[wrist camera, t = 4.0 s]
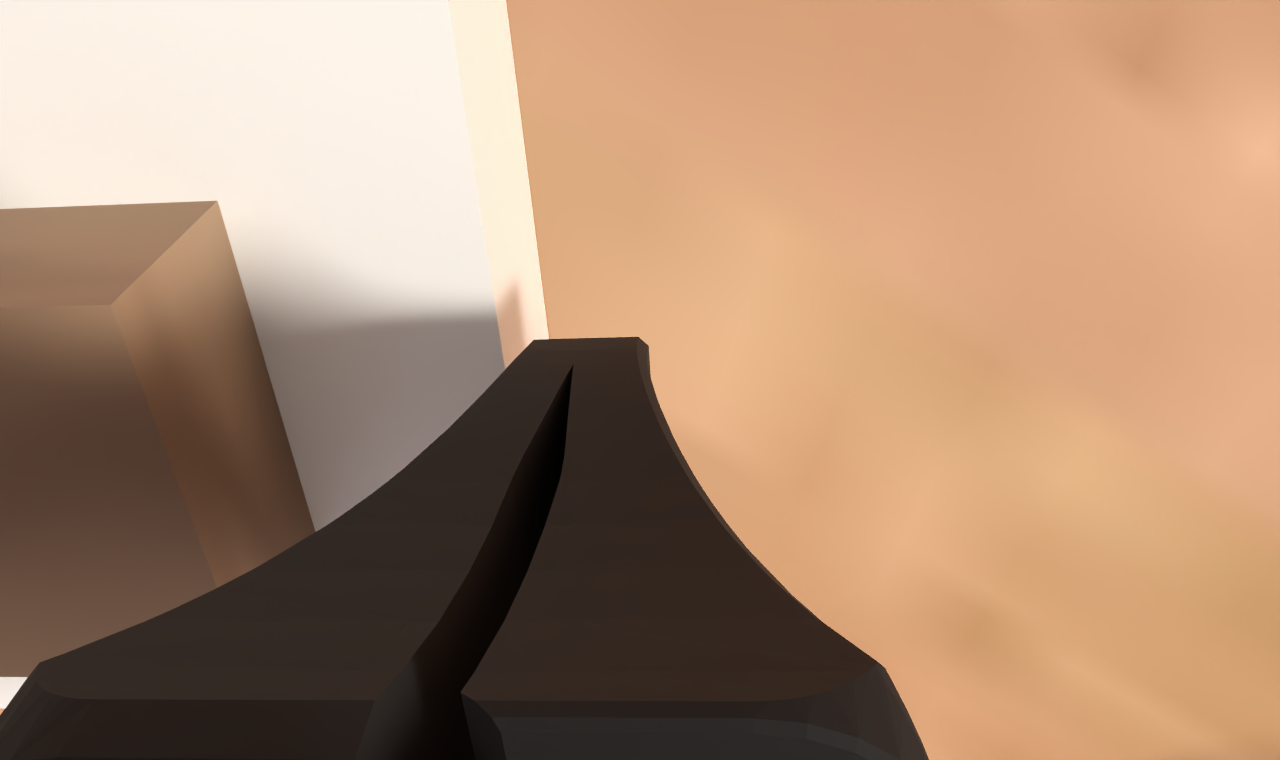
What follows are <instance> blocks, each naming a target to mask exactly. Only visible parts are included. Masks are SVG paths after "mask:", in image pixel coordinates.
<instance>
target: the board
mask: <svg viewBox="0 0 1280 760" xmlns="http://www.w3.org/2000/svg"><path fill="white" fill-rule="evenodd" d="M196 201H218V204H219V207H220V211H221V214H222V217H223V221H224V224H225V228H226V231H227V234H228V238H229V241H230V245H231V248H232V251H233V255H234V258H235V261H236V265H237V268H238V272H239V275H240V278H241V282H242V285H243V288H244V292H245V295H246V299H247V302H248V305H249V309H250V312H251V316H252V319H253V322H254V326H255V329H256V332H257V336H258V339H259V343H260V346H261V349H262V353H263V356H264V359H265V363H266V366H267V370H268V373H269V376H270V380H271V383H272V387H273V390H274V393H275V397H276V400H277V403H278V407H279V410H280V414H281V417H282V420H283V424H284V427H285V430H286V434H287V437H288V441H289V444H290V447H291V451H292V454H293V458H294V461H295V464H296V468H297V471H298V474H299V478H300V481H301V485H302V488H303V491H304V495H305V498H306V501H307V505H308V508H309V512H310V515H311V518H312V522H313V525H314V529H315V532H316V531H318V530H320V529H321V528H323V527H325V526H326V525H328V524H329V523H331V522H332V521H334V520H335V519H337V518H338V517H340V516H341V515H343V514H344V513H345V512H347V511H348V510H350V509H351V508H352V507H354V506H355V505H357V504H358V503H359V502H361V501H362V500H364V499H365V498H366V497H368V496H369V495H371V494H372V493H373V492H375V491H376V490H377V489H378V488H380V487H381V486H382V485H384V484H385V483H386V482H387V481H389V480H390V479H391V478H392V477H394V476H395V475H396V474H397V473H399V472H400V471H401V470H402V469H404V468H405V467H406V466H407V465H408V464H409V463H410V462H411V461H412V460H414V459H415V458H416V457H417V456H418V455H419V454H420V453H421V452H423V451H424V450H425V449H426V448H427V447H428V446H429V445H430V444H431V443H433V442H434V441H435V440H436V439H437V438H438V437H439V436H440V435H442V434H443V433H444V432H445V431H446V430H447V429H448V428H449V427H450V426H451V425H452V424H453V423H454V422H455V421H456V420H457V419H458V418H459V417H460V416H461V415H462V414H463V413H464V412H465V411H466V410H467V409H468V408H469V407H470V406H471V405H472V404H473V403H474V402H475V401H476V400H477V399H478V398H479V397H480V396H481V395H482V394H483V393H484V392H485V390H486V389H487V388H488V387H489V386H490V385H491V384H492V383H493V382H494V381H495V380H496V379H497V378H498V377H499V376H500V374H501V373H502V372H503V371H504V370H505V369H506V368H507V367H508V366H509V365H510V364H511V363H512V362H513V360H514V359H515V358H516V357H517V356H518V355H519V354H520V353H521V352H522V351H523V350H524V349H525V348H526V347H527V346H528V345H529V344H530V343H531V342H532V341H533V340H539V339H549V337H548V329H547V321H546V313H545V305H544V297H543V289H542V281H541V273H540V265H539V258H538V250H537V242H536V234H535V226H534V218H533V210H532V202H531V194H530V186H529V179H528V171H527V163H526V155H525V147H524V139H523V131H522V123H521V115H520V107H519V100H518V92H517V84H516V76H515V68H514V60H513V52H512V44H511V36H510V28H509V20H508V13H507V5H506V0H0V209H14V208H40V207H66V206H92V205H118V204H144V203H170V202H196ZM27 678H28V677H0V708H6V707H7V706H8V704H9V703H10V701H11V700H12V699H13V697H14V696H15V694H16V693H17V692H18V690H19V689H20V687H21V686H22V685H23V683H24V682H25V680H26V679H27Z"/></svg>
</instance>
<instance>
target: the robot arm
mask: <svg viewBox="0 0 1280 760" xmlns="http://www.w3.org/2000/svg"><path fill="white" fill-rule="evenodd" d="M0 760H929V759H928V756H927V754H926V751H925V749H924V746H923V744H922V741H921V739H920V737H919V735H918V733H917V730H916V728H915V726H914V724H913V722H912V720H911V718H910V715H909V713H908V711H907V709H906V707H905V705H904V703H903V701H902V699H901V698H900V696H899V694H898V692H897V690H896V688H895V686H894V684H893V682H892V680H891V678H890V676H889V675H888V673H887V671H886V669H885V668H884V667H883V666H882V665H881V664H880V663H878V662H877V661H876V660H874V659H873V658H872V657H870V656H869V655H867V654H866V653H865V652H863V651H862V650H860V649H859V648H858V647H856V646H855V645H853V644H852V643H851V642H849V641H848V640H846V639H845V638H844V637H842V636H841V635H839V634H838V633H837V632H835V631H834V630H833V629H831V628H830V627H828V626H827V625H826V624H824V623H823V622H822V621H821V620H820V619H818V618H817V617H816V616H815V615H814V614H813V613H812V612H810V611H809V610H808V609H807V608H806V607H805V606H804V605H803V604H801V603H800V602H799V601H798V600H797V599H796V598H795V597H793V596H792V595H791V594H790V593H789V592H788V591H787V589H786V588H785V587H784V586H783V585H782V584H781V583H780V582H779V581H778V580H777V579H776V578H775V577H774V576H773V575H772V574H771V573H770V572H769V571H768V570H767V569H766V568H765V567H764V566H763V565H762V564H761V563H760V561H759V560H758V559H757V558H756V557H755V556H754V555H753V554H752V553H751V552H750V551H749V550H748V549H747V548H746V546H745V545H744V544H743V543H742V541H741V540H740V539H739V538H738V537H737V535H736V534H735V533H734V532H733V530H732V529H731V528H730V527H729V525H728V524H727V523H726V522H725V520H724V519H723V517H722V516H721V515H720V513H719V512H718V510H717V509H716V508H715V506H714V505H713V504H712V502H711V501H710V499H709V498H708V496H707V495H706V493H705V492H704V490H703V489H702V487H701V486H700V484H699V482H698V481H697V479H696V477H695V476H694V474H693V472H692V471H691V469H690V467H689V465H688V464H687V462H686V460H685V458H684V457H683V455H682V453H681V451H680V449H679V447H678V445H677V443H676V441H675V439H674V437H673V435H672V433H671V431H670V428H669V426H668V424H667V422H666V419H665V417H664V415H663V412H662V410H661V408H660V405H659V403H658V400H657V397H656V394H655V391H654V388H653V384H652V381H651V377H650V362H649V347H648V345H647V344H646V343H645V342H643V341H642V340H641V339H640V338H639V337H618V338H578V339H539V340H533V341H532V342H531V343H530V344H529V345H528V346H527V347H526V348H525V349H524V350H523V351H522V352H521V353H520V354H519V355H518V356H517V357H516V358H515V359H514V360H513V362H512V363H511V364H510V365H509V366H508V367H507V368H506V369H505V370H504V371H503V372H502V373H501V374H500V376H499V377H498V378H497V379H496V380H495V381H494V382H493V383H492V384H491V385H490V386H489V387H488V388H487V389H486V390H485V392H484V393H483V394H482V395H481V396H480V397H479V398H478V399H477V400H476V401H475V402H474V403H473V404H472V405H471V406H470V407H469V408H468V409H467V410H466V411H465V412H464V413H463V414H462V415H461V416H460V417H459V418H458V419H457V420H456V421H455V422H454V423H453V424H452V425H451V426H450V427H449V428H448V429H447V430H446V431H445V432H444V433H443V434H442V435H440V436H439V437H438V438H437V439H436V440H435V441H434V442H433V443H431V444H430V445H429V446H428V447H427V448H426V449H425V450H424V451H423V452H421V453H420V454H419V455H418V456H417V457H416V458H415V459H414V460H412V461H411V462H410V463H409V464H408V465H407V466H406V467H405V468H404V469H402V470H401V471H400V472H399V473H397V474H396V475H395V476H394V477H392V478H391V479H390V480H389V481H387V482H386V483H385V484H384V485H382V486H381V487H380V488H378V489H377V490H376V491H375V492H373V493H372V494H371V495H369V496H368V497H366V498H365V499H364V500H362V501H361V502H359V503H358V504H357V505H355V506H354V507H352V508H351V509H350V510H348V511H347V512H345V513H344V514H343V515H341V516H340V517H338V518H337V519H335V520H334V521H332V522H331V523H329V524H328V525H326V526H325V527H323V528H321V529H320V530H318V531H316V532H315V533H313V534H311V535H310V536H308V537H306V538H305V539H303V540H301V541H300V542H298V543H296V544H295V545H293V546H291V547H290V548H288V549H286V550H285V551H283V552H281V553H280V554H278V555H277V556H275V557H273V558H272V559H270V560H268V561H267V562H265V563H263V564H262V565H260V566H258V567H256V568H254V569H252V570H251V571H249V572H247V573H245V574H243V575H241V576H239V577H237V578H235V579H233V580H231V581H229V582H228V583H226V584H224V585H222V586H220V587H218V588H216V589H214V590H212V591H210V592H208V593H206V594H203V595H201V596H199V597H197V598H195V599H193V600H191V601H189V602H187V603H185V604H182V605H180V606H178V607H176V608H174V609H172V610H170V611H167V612H165V613H163V614H161V615H158V616H156V617H154V618H152V619H149V620H147V621H145V622H142V623H140V624H137V625H135V626H132V627H130V628H127V629H125V630H122V631H120V632H117V633H114V634H112V635H109V636H107V637H104V638H102V639H99V640H97V641H94V642H92V643H89V644H87V645H84V646H82V647H79V648H77V649H74V650H72V651H69V652H67V653H64V654H61V655H59V656H56V657H53V658H50V659H48V660H45V661H42V662H39V664H38V665H37V666H36V667H35V669H34V670H33V671H32V673H31V674H30V675H29V676H28V678H27V679H26V680H25V682H24V683H23V685H22V686H21V687H20V689H19V690H18V692H17V693H16V694H15V696H14V697H13V699H12V700H11V701H10V703H9V704H8V706H7V707H6V708H5V710H4V711H3V712H2V714H1V715H0Z"/></svg>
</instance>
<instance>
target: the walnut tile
mask: <svg viewBox="0 0 1280 760" xmlns="http://www.w3.org/2000/svg"><path fill="white" fill-rule="evenodd" d="M313 533H315V529H314V525H313V522H312V518H311V515H310V512H309V508H308V505H307V501H306V498H305V495H304V491H303V488H302V485H301V481H300V478H299V474H298V471H297V468H296V464H295V461H294V458H293V454H292V451H291V447H290V444H289V441H288V437H287V434H286V430H285V427H284V424H283V420H282V417H281V414H280V410H279V407H278V403H277V400H276V397H275V393H274V390H273V387H272V383H271V380H270V376H269V373H268V370H267V366H266V363H265V359H264V356H263V353H262V349H261V346H260V343H259V339H258V336H257V332H256V329H255V326H254V322H253V319H252V316H251V312H250V309H249V305H248V302H247V299H246V295H245V292H244V288H243V285H242V282H241V278H240V275H239V272H238V268H237V265H236V261H235V258H234V255H233V251H232V248H231V245H230V241H229V238H228V234H227V231H226V228H225V224H224V221H223V217H222V214H221V211H220V207H219V204H218V201H196V202H170V203H144V204H118V205H92V206H66V207H40V208H14V209H0V677H28V676H29V675H30V674H31V673H32V671H33V670H34V669H35V667H36V666H37V665H38V664H39V662H42V661H45V660H48V659H50V658H53V657H56V656H59V655H61V654H64V653H67V652H69V651H72V650H74V649H77V648H79V647H82V646H84V645H87V644H89V643H92V642H94V641H97V640H99V639H102V638H104V637H107V636H109V635H112V634H114V633H117V632H120V631H122V630H125V629H127V628H130V627H132V626H135V625H137V624H140V623H142V622H145V621H147V620H149V619H152V618H154V617H156V616H158V615H161V614H163V613H165V612H167V611H170V610H172V609H174V608H176V607H178V606H180V605H182V604H185V603H187V602H189V601H191V600H193V599H195V598H197V597H199V596H201V595H203V594H206V593H208V592H210V591H212V590H214V589H216V588H218V587H220V586H222V585H224V584H226V583H228V582H229V581H231V580H233V579H235V578H237V577H239V576H241V575H243V574H245V573H247V572H249V571H251V570H252V569H254V568H256V567H258V566H260V565H262V564H263V563H265V562H267V561H268V560H270V559H272V558H273V557H275V556H277V555H278V554H280V553H281V552H283V551H285V550H286V549H288V548H290V547H291V546H293V545H295V544H296V543H298V542H300V541H301V540H303V539H305V538H306V537H308V536H310V535H311V534H313Z"/></svg>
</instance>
